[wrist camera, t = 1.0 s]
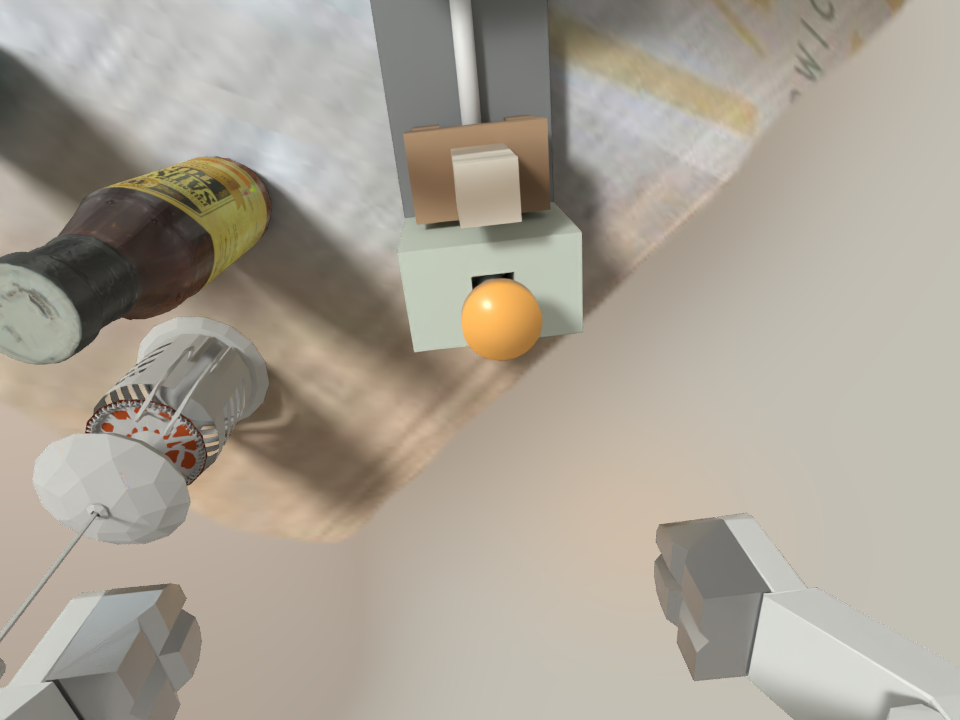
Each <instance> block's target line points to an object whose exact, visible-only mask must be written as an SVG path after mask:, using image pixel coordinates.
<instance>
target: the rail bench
mask: <svg viewBox="0 0 960 720" xmlns="http://www.w3.org/2000/svg"><path fill="white" fill-rule="evenodd" d="M370 3H371V9H372V15H373V22H374V28H375V34H376V41H377V47H378V53H379V59H380V66H381V72H382V78H383V85H384V91H385V97H386V103H387V110H388V116H389V122H390V129H391V135H392V141H393V147H394V154H395V160H396V166H397V173H398V179H399V185H400V192H401V198H402V204H403V210H404V217H405V219H404V224H403V229H402V233H401V238H400V243H399V247H398V252H397V254H398V260H399V266H400V272H401V278H402V284H403V290H404V296H405V301H406V307H407V313H408V319H409V325H410V331H411V337H412V342H413V348H414V352H420V351H429V350H437V349H446V348H454V347H463V346H469V345H468V344H467V342H466V340H465V338H464V335H463V330H462V321H461V311H462V307H463V304H464V301H465V299H466V298H467V296H468V295H469V293H470V292H471V291H472V290H473V289H474V288H475V287H477V286H478V279H479V277H480V276H483V275H492V274H500V273H501V274H502V275H503V277H504V278H505V279H511V280H515V281H517V282H519V283H521V284H523V285H524V286H526V287H527V288H528V289H529V290H530V291H531V292H532V294H533V295H534V297H535V299H536V301H537V303H538V306H539V308H540V310H541V314H542V330H541V333H540V336H539V338H540V337H548V336H557V335H565V334H574V333H582V332H583V309H582V232H581V231H580V229H579V228H578V227H577V226H576V225H575V224H574V223H573V222H572V221H571V220H570V219H569V218H568V216H567V215H566V214H565V213H564V212H563V211H562V210H561V209H560V208H559V207H558V206H557V205H556V203H555V202H554V196H553V165H552V133H551V102H550V70H549V39H548V7H547V0H370ZM520 115H531V116H534V117H545V118H547V124H548V152H549V181H550V210H544V211H535V212H526V213H521V217H522V222H515V223H506V224H498V225H489V226H480V227H471V228H462V229H461V227H460V221H459V220H455V221H446V222H438V223H429V224H420V225H417V224H416V218H415V211H414V204H413V198H412V191H411V184H410V178H409V171H408V164H407V157H406V151H405V144H404V137H403V133H404V132H406V131H412V128H413V127H420V126H429V125H438V124H439V128H442V127H451V126H460V125H470V124H479V123H488V122H497V121H504V118H503V117H511V116H520Z"/></svg>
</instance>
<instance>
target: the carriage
mask: <svg viewBox="0 0 960 720" xmlns="http://www.w3.org/2000/svg"><path fill="white" fill-rule="evenodd" d="M503 118H504V121H497V122H488V123H479V124H470V125H460V126H451V127H442V128H439V124H438V125H429V126H420V127H413V128H412V131H406V132H404V133H403V137H404V144H405V151H406V157H407V164H408V171H409V178H410V184H411V191H412V198H413V204H414V211H415V218H416V224H417V225H420V224H429V223H438V222H446V221H455V220H459V221H460V227H461V229H462V228H471V227H480V226H489V225H498V224H506V223H515V222H522V217H521V213H526V212H535V211H544V210H550V181H549V152H548V124H547V118H545V117H534V116H531V115H520V116H511V117H503Z"/></svg>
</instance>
